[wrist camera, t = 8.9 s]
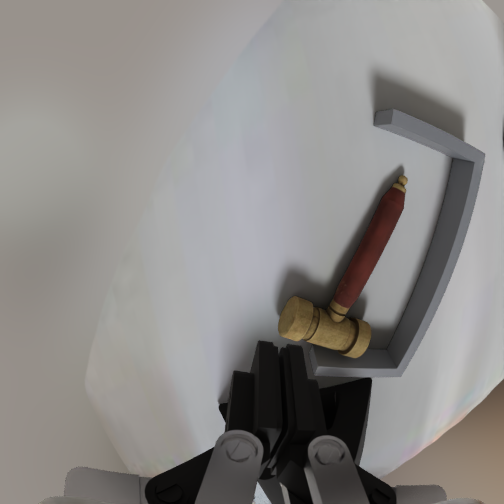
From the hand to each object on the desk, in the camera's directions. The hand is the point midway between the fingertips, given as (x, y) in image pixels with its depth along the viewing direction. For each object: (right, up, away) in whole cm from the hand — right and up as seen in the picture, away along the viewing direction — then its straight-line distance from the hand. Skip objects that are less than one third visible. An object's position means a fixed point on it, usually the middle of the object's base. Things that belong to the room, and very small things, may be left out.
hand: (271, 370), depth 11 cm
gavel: (+11, +4, +20) cm, 23 cm away
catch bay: (+15, +4, +19) cm, 25 cm away
